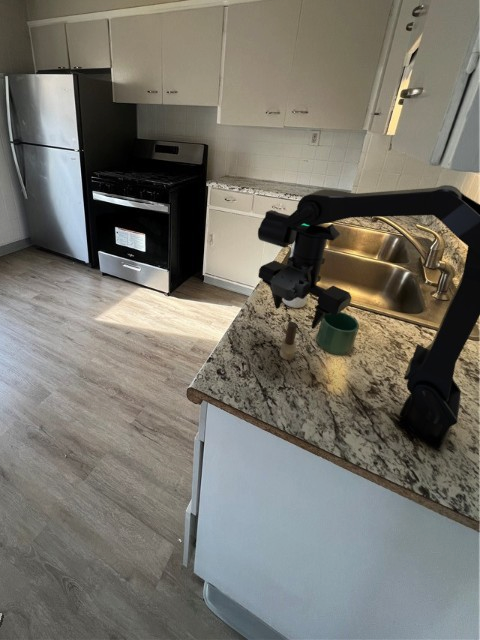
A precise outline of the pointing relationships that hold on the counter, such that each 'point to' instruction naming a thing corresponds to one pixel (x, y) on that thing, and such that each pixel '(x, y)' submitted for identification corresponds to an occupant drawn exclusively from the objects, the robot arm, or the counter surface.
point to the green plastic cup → (337, 333)
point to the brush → (289, 342)
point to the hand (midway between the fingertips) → (294, 317)
